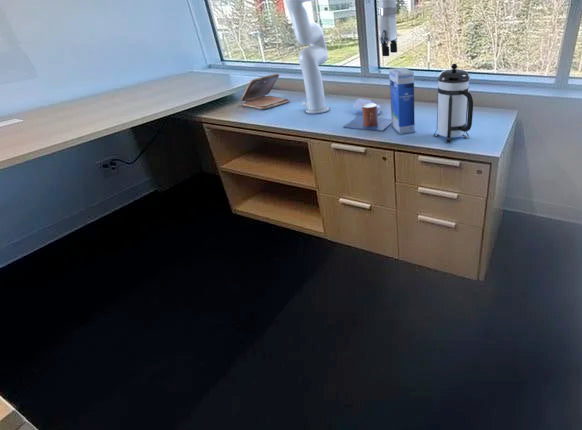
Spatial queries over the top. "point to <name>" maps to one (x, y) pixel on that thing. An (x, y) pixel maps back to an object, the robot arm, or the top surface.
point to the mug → (370, 114)
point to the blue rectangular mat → (358, 124)
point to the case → (262, 93)
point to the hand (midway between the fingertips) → (389, 54)
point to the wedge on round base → (363, 101)
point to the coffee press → (454, 103)
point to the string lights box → (402, 99)
